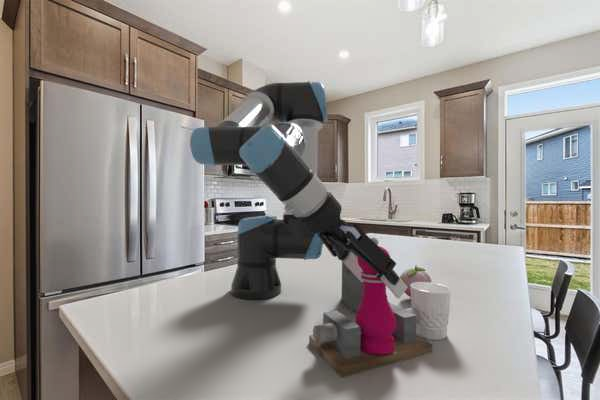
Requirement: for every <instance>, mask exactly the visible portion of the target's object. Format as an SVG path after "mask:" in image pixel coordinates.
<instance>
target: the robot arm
mask: <svg viewBox="0 0 600 400" xmlns="http://www.w3.org/2000/svg"><path fill="white" fill-rule="evenodd" d="M328 120H329V119H328V108H327V99H326V89H325V86H324V84H323V83H321V82H320V81H301V82H300V81H299V82H297V81H296V82H274V83H269V84H266V85H263V86H260V87H258V88H256V89H254V90H252V91H251V92H249V93H248V94H247V95H246V96H244V98H243V100H242V103H241V104H240V105H239V106H238V107H237V108H236V109H234V110H233V111H232V112H231V113H230V114H228V115H227V116H226V117H225V118H224V119H223V120H221V121H220V122H219V123H218V124H217V125H215V126H207V125H206V126H203V127H201V126H200V127H196V128H194V129H193V131H192V133H191V135H190V138H189V146H190V151H191V154H192V155H191V156H192V158H193V159H194V161H195V162H196V163H197V164H199V165H209V166H244V165H245V166H247V167H248V169H249V170H250V171H251V172H252V173H254V174H255V175H256V176H257V177H258V179H259V180H260V181H262V183H263V184H264V185H265V186H266V188H268V189H269V190H270V192H272V193H273V194H274V195H275V197H277V199H278V200H279V201H280V202H281V203H282V204H283V205H284V208H283V209H284V212H283V214H282V219H278V216H277V215H276V214H269V215H258V216H251V217H245V218H242V219H240V220H239V222H238V228H237V229H238V230H237V233H236V235H237V267H236V270H235V273H234V276H233V280H232V282H231V289H230V292H231V295H232V296H233V297H236V298H239V299H243V300H244V299H245V300H263V299H270V298H273V297H276V296H278V295H279V294H280V293H282V282H281V279H280V275H279V272H278V270H277V263H276V261H277V259H287V260H288V259H294V260H304V261H306V260H317V259H319V258H320V257H321V256H322V252H323V247H324V246H325V247H326V248H327V250H328V251H329V253H330V254H331V256H333V257H334V258H336V257H337V259H338V260H339V261H342V260H343V263H344V264H345V265H346V266H347V267H348V268H349V269H350V270H351V272H352V273H353V274H354V275H355V276H356V277H357V278H358V279H359V280H360V281H361V282H363V281H362V280H361V272H362V269H361V267H360V266H359V264H358V258H357V257H356V256H355V255H354V254H353V253H355V254H356V255H357V256H358V257H359V258H361V259H362V260H363V261H364V262H365V263H367V264H368V265H369V266H370V267H371V268H373V269H374V270H375V271H376V272H378V273H377V278H379V279H381V280H382V281H383V283H384V284H385V285H386V288H388V289H389V290H390V292H391V293H392V295H394V296H395V297H396V298H397V299H399V300H400V299H401V297H402V296H403V295H404V294H405V293H404V292H405V290H406V289H407V285H406V284H405V283H404V282H403V281H402V279H401V278H400V276H399V275H398V273H397V272H396V271H395V270H394V268H395V267H396V265H397V263H396V261H395V260H393V258H391V256H390V257H389V256H388V255H387V254H386V253H385V252H384V251H383V250H382V249H381V248H380V247H381V246H380V247H379V244H378V245H377V244H375V243H374V242H373V241H372V240H371V239H370V238H371V237H369V236H368V235H367V233H365V232H364V230H363V229H362V228H361V227H360V225H359V224H357V223H353V224H352V226H350V224H349V223H348V222H347V221H346V220H344V219H341V214H342V213H341V212H342V209H343V208H342V205H341V203H340V202H339V201H338V200H337V198H336V197H335V196H334V195H333V194H332V192H330V191H328V188H327V186H326V184H324V183H323V181H322V180H321V179H320V178H319V177H318V145H319V144H318V143H319V142H318V140H319V137H318V136H319V135H318V134H319V131H320V130H322V129H323V127H324V122H326V121H328ZM270 122H272V123H273V122H274V123H275V122H277V124H276V125H273V124H271V123H270ZM278 122H279V123H278ZM263 125H264V126H263ZM348 241H350V243H349V244H348V245H347V243H348ZM323 245H324V246H323ZM350 250H351V251H352V252H353V253H352V252H350V253H349V254H348V252H349V251H350Z"/></svg>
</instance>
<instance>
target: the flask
mask: <svg viewBox="0 0 600 400" xmlns="http://www.w3.org/2000/svg"><path fill="white" fill-rule="evenodd" d="M349 243H350V241H348V243H347V245H348V244H349ZM350 252H352V251H351V250H350V251H349V252H348V254H349V253H350ZM352 253H353V252H352ZM353 254H354V255H355V256H356V257H357V258H358V256H357V255H356V254H355V253H353ZM363 295H364V283H363V282H361V281H360V280H359V279H358V278H357V277H356V276H355V275H354V274H353V273H352V272H351V270H350V269H349V268H348V267H347V266H346V265H345V264H344V263H343V260H341V301H342V302H343V303H344V304H345V305H346V306H347V307H348V308H349V309H350V310H352V311H354V312H355V313H357V311H358V309H359V307H360V304H361V302H362V299H363Z"/></svg>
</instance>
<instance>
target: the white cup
mask: <svg viewBox="0 0 600 400" xmlns="http://www.w3.org/2000/svg"><path fill="white" fill-rule="evenodd" d="M450 302H451V288H450V287H448V286H447V285H443V284H441V283H435V282H432V281H431V282H415V283H412V284H411V297H410V308H415V309H416V310H417V311H418V313H419V316H420V319H419V322H418V323H416V335H417V336H419V337H420V338H422V339H425V340H426V339H427V340H430V341H441V340H444V339H446V338H447V335H448V324H449V319H450V318H449V315H450V305H451V304H450Z"/></svg>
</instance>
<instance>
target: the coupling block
mask: <svg viewBox="0 0 600 400" xmlns="http://www.w3.org/2000/svg"><path fill="white" fill-rule="evenodd" d="M388 302H389V304H390V306H391V308H392V310H393V313H394V316H395V319H396V330H395V331H394V333H393V334H392V336H393V338H394V350H393V351H392V352H391V353H388V354H382V355H380V354H372V353H368V352H366V351H364V350H362V349H361V348H360V334H361V327H360V326H359V325H357V324H356V322H354V320H352V319H351V318H348V317H347V316H346V315H344V314H343V313H341V312H340V311H338V310H337V309H336V310H331V311H330V310H329V311H325V312H323V319H322V321H323V323H322V324H317V325H313V329H312V334H310V335H309V336H308V337H309V338H308V339H309V340H308V344H310V345H311V347H312V348H313V349H314V350H315V351H316V352H317V353H318V354H319V355H320V356H321V357H322V358H323V359H324V361H326V362H327V363H328V364H329V366H330V367H332V369H333V370H334V369H335V370H334V371H335V372H336V371H337V372H338V373H337V372H336V373H337V374H338V375H339V376H340V377H341V378H344V377H347V376H352V375H353V374H354V373H355V374H357V372H358V373H362V372H365V371H364V370H366V371H369V370H372V369H371V368H373V369H376V368H380V367H383V366H382V365H384V366H387V365H390V364H393V363H397V361H398V362H401V361H404V359H405V360H408V359H413V358H416V357H419V356H422V355H425V354H426V353H427V354H429V353H432V352H433V343H431V342H429V341H427V340H426V339H425V338H423V337H420V336H418V335H417V334H416V323H418V322H419V319H420V316H419V313H418V311H417V310H416V309H415V308H411V307H409V308H402V307H400V306H398V305H396V304H394V303H391V302H390V301H388ZM400 360H401V361H400ZM379 366H380V367H379ZM375 367H376V368H375ZM368 369H369V370H368ZM361 371H362V372H361Z"/></svg>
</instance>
